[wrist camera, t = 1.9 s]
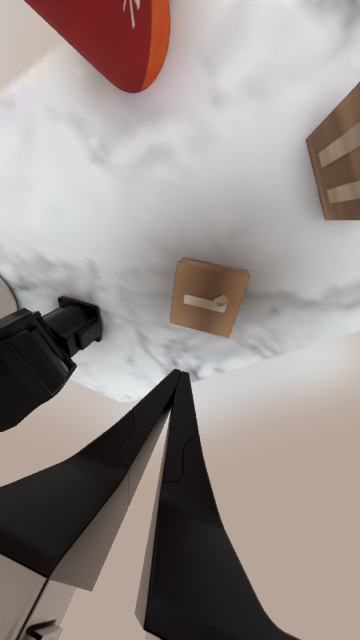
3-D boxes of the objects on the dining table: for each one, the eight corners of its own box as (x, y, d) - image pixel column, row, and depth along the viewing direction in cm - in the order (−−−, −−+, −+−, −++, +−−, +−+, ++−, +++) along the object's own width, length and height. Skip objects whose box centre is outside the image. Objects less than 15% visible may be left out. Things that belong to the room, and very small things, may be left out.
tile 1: (176, 311, 23) (168, 323, 21) (184, 257, 20) (176, 262, 17) (229, 324, 22) (228, 338, 20) (247, 269, 19) (250, 277, 16)
